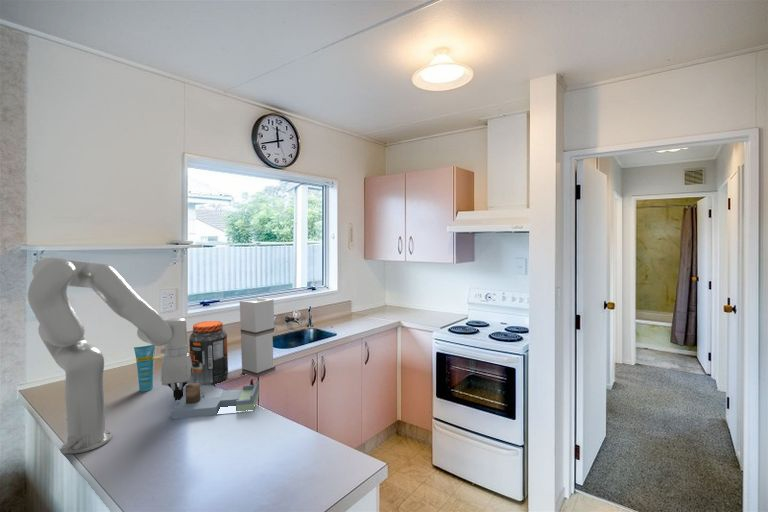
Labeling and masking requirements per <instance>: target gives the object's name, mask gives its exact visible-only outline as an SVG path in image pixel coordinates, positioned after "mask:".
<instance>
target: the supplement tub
mask: <svg viewBox="0 0 768 512" xmlns="http://www.w3.org/2000/svg"><path fill="white" fill-rule="evenodd" d="M223 324H224V323H223V321H221V320H207V321H201V322H197V323H195V324H193V325H192V332H191V334H190V336H189V339H188V341H189V342H188V343H189V353H190V357H191V361H192V367H193V376H192V377H193V382H192V383H200V385H210V384H215V383H219V382H221V381H223V380H225V379H227V377H228V376H229V362H228V361H229V360H228V359H229V358H228V355H229V354H228V335H227V332H226V330H225V329H223V327H224V325H223Z"/></svg>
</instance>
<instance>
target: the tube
mask: <svg viewBox="0 0 768 512" xmlns="http://www.w3.org/2000/svg"><path fill="white" fill-rule="evenodd" d="M133 350H134V354H135V361H136V369H137V377H138V387H139V388H138V390H139V392H148V391H152V390H153V388H154V355H155V345H152V344H148V345H143V346H136V347H135V346H134V347H133Z"/></svg>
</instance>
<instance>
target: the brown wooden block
mask: <svg viewBox="0 0 768 512" xmlns="http://www.w3.org/2000/svg"><path fill="white" fill-rule="evenodd" d="M200 393H201V384H200V383H194V382H192V383H189V384H186V385H185V394H186V403H188V404H193V403H197V402H199V401H200V400H201V395H200Z"/></svg>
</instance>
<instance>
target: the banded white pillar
mask: <svg viewBox="0 0 768 512" xmlns="http://www.w3.org/2000/svg"><path fill="white" fill-rule="evenodd" d="M274 305H275V303H274V299H272V298H264V297H256V301H248V300H239V321H240V322H239V323H240V325H239V326H240V345H241V347H240V349H241V353H240V354H241V373H242V374H245V375H249V376H252V377H256V378H259V377H263V376H265V375H267V374H268V375H269V374H270V373H273V372H275V371H276V365H274V341H273V340H274V338H273V336H274V335H275V311H274V310H275V307H274Z"/></svg>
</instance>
